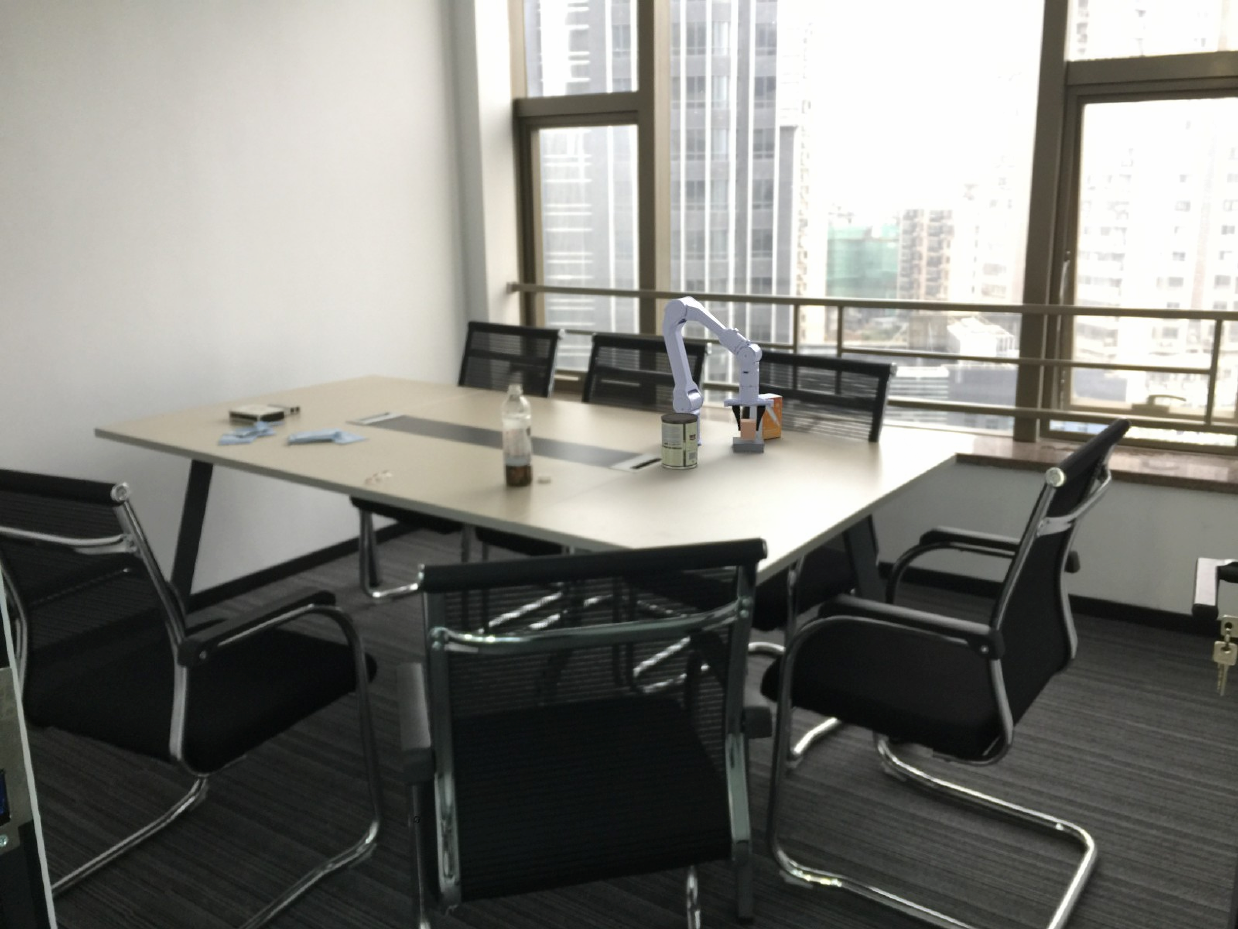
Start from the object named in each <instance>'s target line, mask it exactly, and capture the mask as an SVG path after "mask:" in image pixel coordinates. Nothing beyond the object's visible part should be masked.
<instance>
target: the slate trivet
mask: <svg viewBox="0 0 1238 929" xmlns="http://www.w3.org/2000/svg"><path fill="white" fill-rule="evenodd" d="M732 453H765V442H764V439H763V437H756V439H740V436H732Z"/></svg>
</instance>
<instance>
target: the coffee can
mask: <svg viewBox="0 0 1238 929" xmlns="http://www.w3.org/2000/svg"><path fill="white" fill-rule="evenodd" d="M697 419H698V416H697V415H695V414H691V413H676V412H670V413H665V414H662V415H661V416H660V420H661V467H663V468H665V469H671V470H690V469H694V468H695V467H697V466H698V464H699V463H698V445H697Z"/></svg>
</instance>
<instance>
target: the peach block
mask: <svg viewBox="0 0 1238 929" xmlns="http://www.w3.org/2000/svg"><path fill="white" fill-rule="evenodd" d="M740 424H741V431H740V436H739V437H740V439H756V419H750V418H740Z"/></svg>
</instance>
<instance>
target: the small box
mask: <svg viewBox="0 0 1238 929" xmlns="http://www.w3.org/2000/svg"><path fill="white" fill-rule="evenodd" d="M758 399H773V400H774V407H770V406H766V410H765V412H764V414H763V416H762V419H761V422H760V425H759V431H756V437H763V440H768V439H769V440H770V439H775V438H781V436H782V416H783V415H782V414H783V396H782V395H778V394H775V393H765V394H762V393H761V394H759V398H758ZM749 419H757V406H749Z"/></svg>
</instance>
